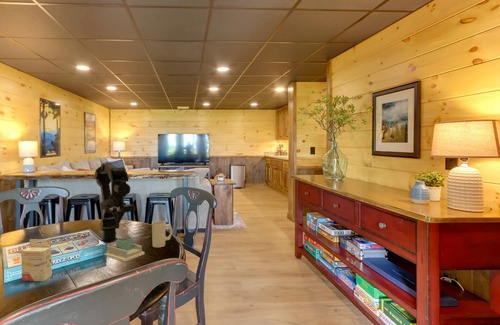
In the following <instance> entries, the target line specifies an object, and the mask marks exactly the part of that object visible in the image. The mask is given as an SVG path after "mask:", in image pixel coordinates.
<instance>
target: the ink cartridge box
mask: <svg viewBox="0 0 500 325" xmlns="http://www.w3.org/2000/svg"><path fill="white" fill-rule="evenodd" d="M40 242H41V243H40ZM51 246H52V245H51V239H46V238H45V239H44V238H41V239H40V238H35V239H34V238H33V239H32V238H30V239H29V246H28V247H27V248H24V249H22V250H21V253H20V254H21V256H20V257H21V282H45V281H46V280H48V279H50V278H51V277H52V275H53V269H52V266H53V265H52V247H51Z"/></svg>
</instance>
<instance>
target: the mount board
mask: <svg viewBox="0 0 500 325" xmlns="http://www.w3.org/2000/svg"><path fill="white" fill-rule="evenodd" d="M106 248H107V252H105V253H104V256H105V255H106V256H105V257H107V256H108V258H111V259H113V260H117V261H122V262H125V263H126V262H128V261H131V260H132V259H136V258H137V257H140V256H143V255H145V251H143V246H142V245H140V244H136V243H133V249H130V250H127V251H126V250H123V249H119V248H116V246H111V245H107V246H106Z"/></svg>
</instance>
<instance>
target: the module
mask: <svg viewBox="0 0 500 325" xmlns="http://www.w3.org/2000/svg"><path fill="white" fill-rule="evenodd" d="M115 241H116V242H115V247H116V248H119V249H123V250H126V251H127V250H130V249H133V244H134V238H133V237H131V236H129V235H128V236H127V235H126V236H123V237H120V238H119V237H118V240H115Z"/></svg>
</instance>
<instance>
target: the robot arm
mask: <svg viewBox="0 0 500 325" xmlns="http://www.w3.org/2000/svg"><path fill="white" fill-rule="evenodd" d="M129 179H130V178H129V174H128V172H127V170H126V168H125V167H121V166H119V167H117V166H116V165H113V163H111V162H106V163H104V162H103V163H101V164H100V166H99V167H98V168H96V169H95V172H94V180H95V182H96V184H97V185H98V186H99V187H100V192H101V194H100V195H101V199H102V201H101V202H100V203H99V206H100V209H101V210H102V211H103V214H102V216H101V220H100V223H99V230H100V231H102V237H103V238H102V239H103V240H104V241H105V242H104V241H103V242H104V243H110V242H114V241H116V240H118V239H119V237H117V231H116V230H117V229H119V228H120V223H121V221H122V219H123V217H124V215H125V213H130V212H134V211H136V207H135V205H134V204H127V202H125V197H126V196H127V195H129V194H130V192H131V187H130V184H128V183H127V182H129ZM110 185H111V186H110Z"/></svg>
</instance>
